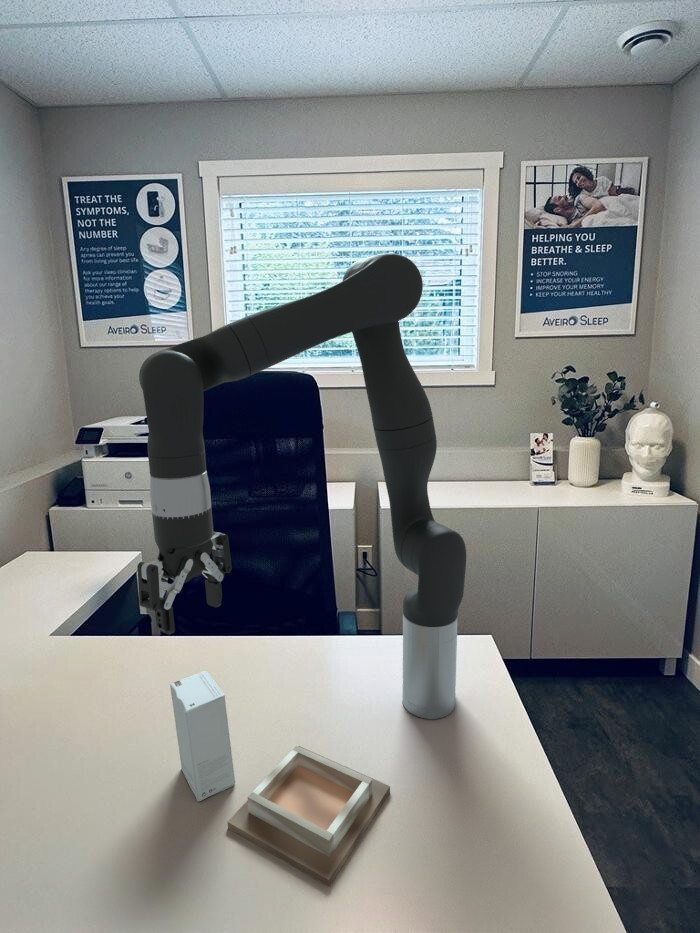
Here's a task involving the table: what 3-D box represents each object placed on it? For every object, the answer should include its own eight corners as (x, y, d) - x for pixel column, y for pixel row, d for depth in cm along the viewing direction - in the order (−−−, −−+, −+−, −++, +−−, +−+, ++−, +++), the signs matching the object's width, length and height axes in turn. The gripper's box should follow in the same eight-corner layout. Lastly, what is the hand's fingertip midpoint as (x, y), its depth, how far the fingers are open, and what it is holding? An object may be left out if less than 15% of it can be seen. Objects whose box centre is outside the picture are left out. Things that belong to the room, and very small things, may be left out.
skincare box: (236, 785, 80) (229, 696, 76) (195, 805, 77) (186, 712, 73) (215, 750, 87) (208, 667, 83) (177, 767, 83) (168, 681, 80)
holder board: (299, 751, 86) (298, 731, 86) (390, 792, 78) (390, 771, 77) (227, 827, 73) (226, 805, 72) (328, 886, 65) (328, 862, 64)
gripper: (157, 526, 64) (170, 650, 68) (240, 496, 76) (247, 603, 80) (116, 516, 68) (130, 634, 72) (201, 489, 80) (209, 591, 84)
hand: (192, 618), depth 76 cm, fingers open, 8 cm apart
